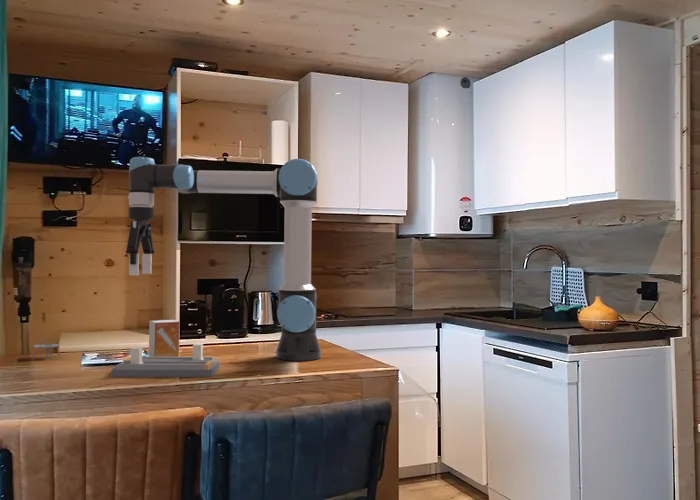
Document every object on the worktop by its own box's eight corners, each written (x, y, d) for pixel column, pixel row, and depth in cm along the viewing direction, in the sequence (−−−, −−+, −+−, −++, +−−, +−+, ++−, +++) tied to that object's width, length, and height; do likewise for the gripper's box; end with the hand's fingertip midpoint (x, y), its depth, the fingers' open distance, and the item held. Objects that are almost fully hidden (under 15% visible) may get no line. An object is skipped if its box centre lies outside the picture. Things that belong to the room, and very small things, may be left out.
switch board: (219, 368, 189) (219, 356, 189) (211, 376, 176) (211, 364, 176) (126, 368, 188) (126, 356, 188) (111, 376, 175) (111, 364, 175)
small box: (154, 363, 195) (154, 322, 196) (148, 360, 201) (148, 320, 201) (179, 361, 200) (179, 321, 200) (173, 358, 205) (173, 319, 205)
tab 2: (203, 361, 187) (204, 343, 187) (201, 363, 184) (201, 345, 184) (193, 361, 187) (194, 343, 187) (191, 363, 184) (191, 345, 184)
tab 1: (143, 365, 179) (143, 346, 179) (139, 367, 176) (140, 348, 176) (132, 365, 179) (132, 346, 179) (129, 367, 176) (129, 348, 176)
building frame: (32, 358, 204) (32, 340, 204) (59, 356, 207) (59, 338, 207) (32, 361, 198) (32, 342, 198) (60, 359, 202) (60, 341, 202)
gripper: (141, 209, 207) (140, 273, 207) (115, 203, 182) (114, 275, 182) (163, 209, 208) (163, 273, 208) (141, 204, 183) (140, 276, 183)
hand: (140, 274), depth 195 cm, fingers open, 13 cm apart
